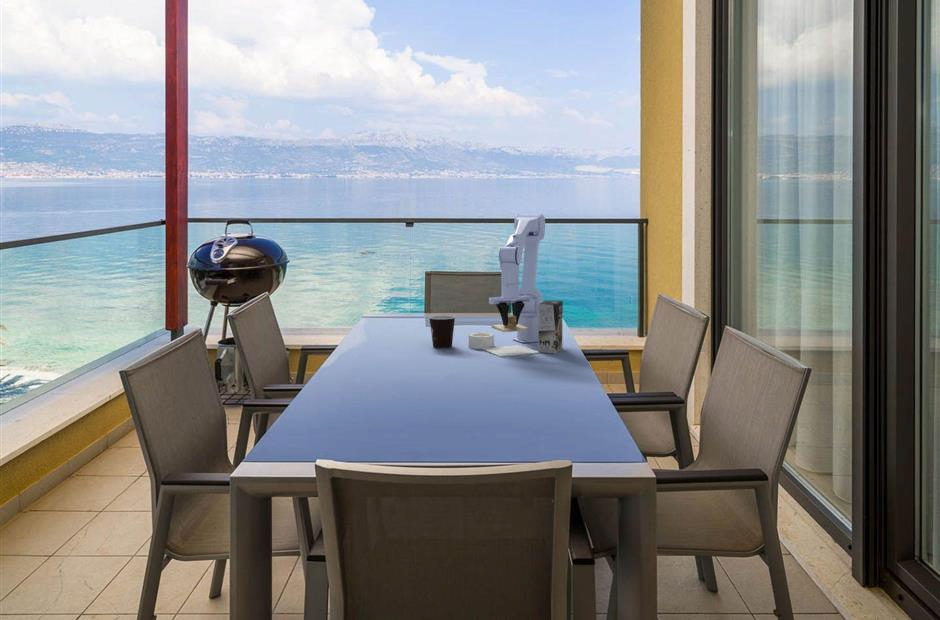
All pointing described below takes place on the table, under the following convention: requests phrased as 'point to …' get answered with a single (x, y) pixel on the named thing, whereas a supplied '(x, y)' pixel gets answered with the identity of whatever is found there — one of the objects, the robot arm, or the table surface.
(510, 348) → the mat
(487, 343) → the bowl
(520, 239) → the robot arm
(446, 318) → the coffee mug
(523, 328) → the cover
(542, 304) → the coffee box
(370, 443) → the table surface
